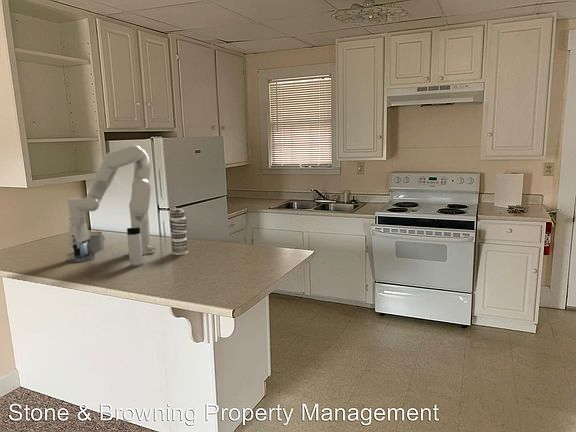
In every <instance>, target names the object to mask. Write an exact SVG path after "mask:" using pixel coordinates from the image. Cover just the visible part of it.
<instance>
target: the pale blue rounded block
mask: <svg viewBox="0 0 576 432" xmlns="http://www.w3.org/2000/svg"><path fill="white" fill-rule="evenodd" d="M75 245H76V246H77V244H75ZM79 248H80V256H76V257H85V256H88V252H87V243H85V242H80V243H79Z"/></svg>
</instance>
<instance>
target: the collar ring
mask: <svg viewBox="0 0 576 432" xmlns="http://www.w3.org/2000/svg"><path fill="white" fill-rule="evenodd" d="M95 253H96V252H88V256H85V257H76V256H75V255H74V253H72V254H70V255H68V257H67V259H68V260H69V261H68V262H69V263H86V262H89V261H93V260H94V259H96V254H95Z"/></svg>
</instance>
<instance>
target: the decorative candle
mask: <svg viewBox="0 0 576 432" xmlns="http://www.w3.org/2000/svg"><path fill="white" fill-rule="evenodd" d="M169 213H170V219H169V222H170V223H169V226H170V227H169V228H170V234H171V243H172V244H171V246H172V247H171V249H172V250H171V251H172V255H174V254H175V255H176V256H180V255H182V254H183V255H187V254H188V252H189V251H188V249H189V248H188V247H189V246H188V240H187V225H186V224H187V219H186V215H185V210H184V209H183V208H181V207H176V208H175V207H174V208H172V209H171V210H170V211H169Z"/></svg>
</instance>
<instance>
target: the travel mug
mask: <svg viewBox="0 0 576 432" xmlns="http://www.w3.org/2000/svg"><path fill="white" fill-rule="evenodd" d="M126 233H127V245H128V247H127V248H128V257H129V258H128V259H129V266H130V267H131V268H137V267H142V266H143V265H144V259H143V257H144V256H143V255H142V246H141V234H140V227H136V228H131V227H128V228H126Z"/></svg>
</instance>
